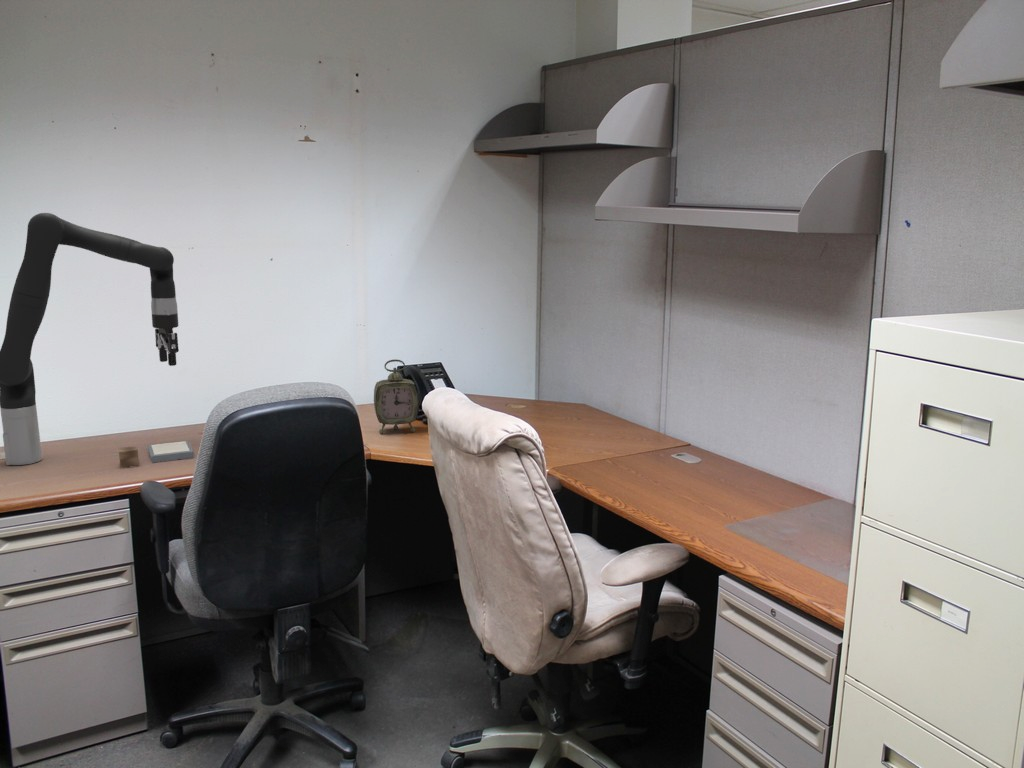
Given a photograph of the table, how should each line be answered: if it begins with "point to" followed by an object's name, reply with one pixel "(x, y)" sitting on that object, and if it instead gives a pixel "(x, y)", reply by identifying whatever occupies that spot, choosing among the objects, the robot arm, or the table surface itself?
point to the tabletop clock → (395, 400)
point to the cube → (128, 456)
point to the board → (170, 451)
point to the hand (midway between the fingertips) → (168, 363)
